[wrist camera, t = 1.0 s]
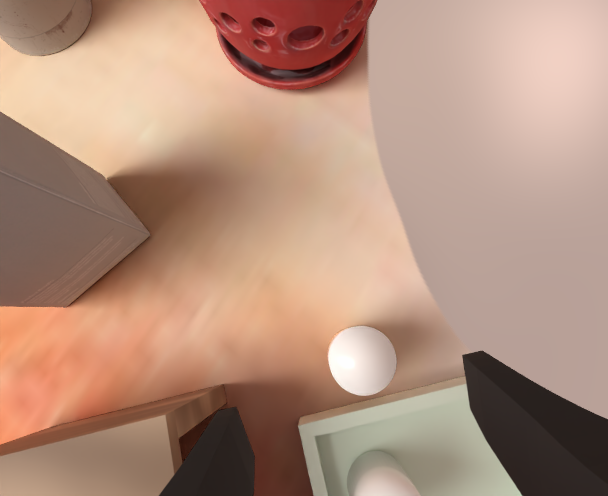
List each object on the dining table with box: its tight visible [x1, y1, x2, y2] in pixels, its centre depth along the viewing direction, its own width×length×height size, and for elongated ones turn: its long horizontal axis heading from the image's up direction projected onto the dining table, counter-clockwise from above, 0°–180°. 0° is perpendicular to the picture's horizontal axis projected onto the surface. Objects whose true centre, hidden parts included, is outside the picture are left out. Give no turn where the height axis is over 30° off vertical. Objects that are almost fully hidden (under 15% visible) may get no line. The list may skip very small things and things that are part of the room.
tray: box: [298, 376, 522, 496], centre depth 24 cm, size 9×13×3 cm
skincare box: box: [0, 112, 150, 308], centre depth 21 cm, size 8×7×16 cm
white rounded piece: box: [327, 326, 397, 396], centre depth 24 cm, size 4×4×6 cm
